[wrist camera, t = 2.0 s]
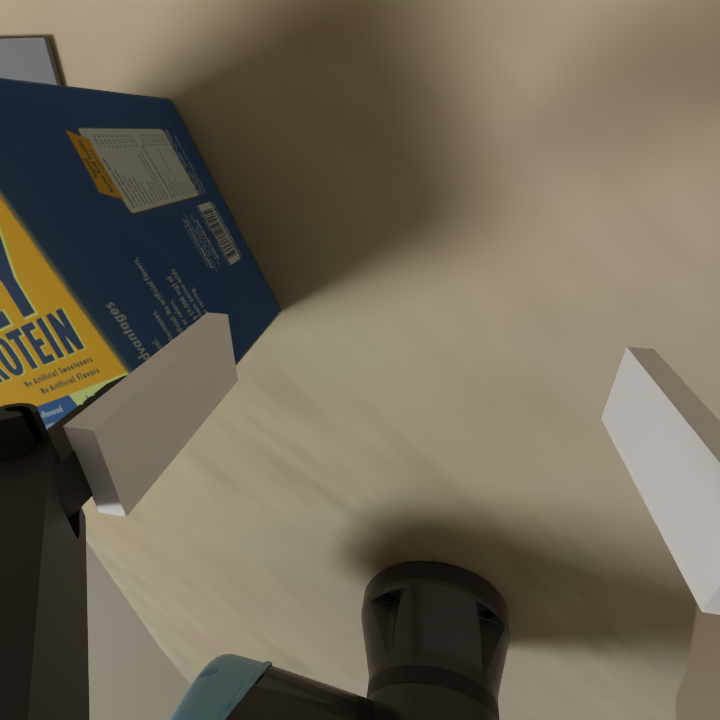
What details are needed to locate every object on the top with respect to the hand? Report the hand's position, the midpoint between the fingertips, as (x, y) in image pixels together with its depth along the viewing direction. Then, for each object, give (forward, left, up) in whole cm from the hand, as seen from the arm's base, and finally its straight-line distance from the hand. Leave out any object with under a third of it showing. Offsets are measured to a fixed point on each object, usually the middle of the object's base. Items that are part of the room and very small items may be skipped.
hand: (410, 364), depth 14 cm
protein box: (0, +18, -16) cm, 24 cm away
